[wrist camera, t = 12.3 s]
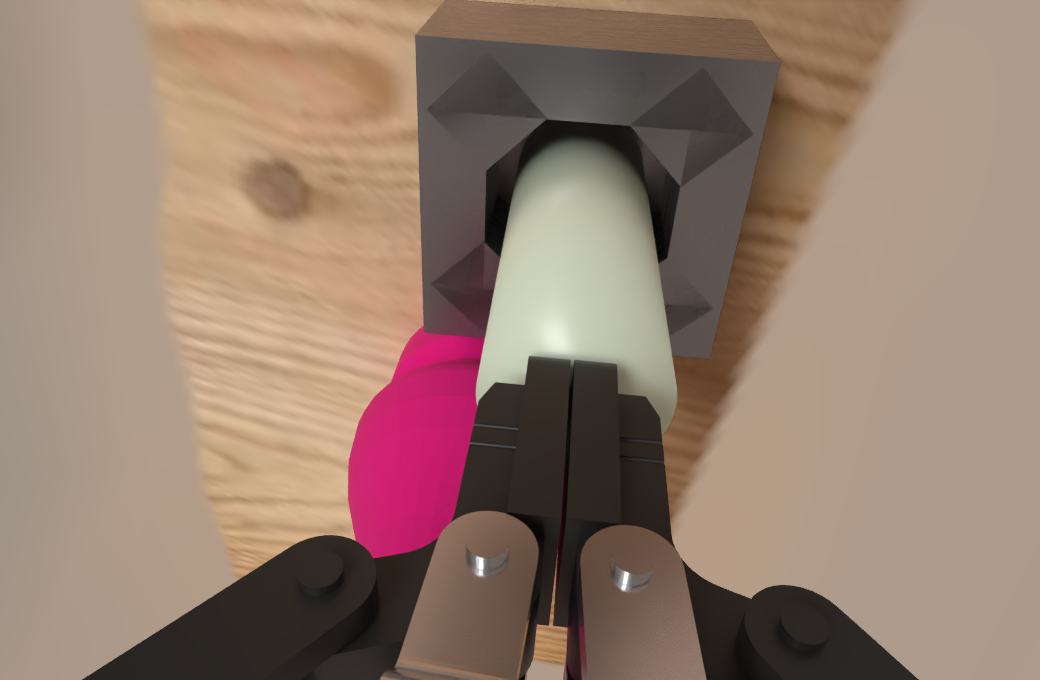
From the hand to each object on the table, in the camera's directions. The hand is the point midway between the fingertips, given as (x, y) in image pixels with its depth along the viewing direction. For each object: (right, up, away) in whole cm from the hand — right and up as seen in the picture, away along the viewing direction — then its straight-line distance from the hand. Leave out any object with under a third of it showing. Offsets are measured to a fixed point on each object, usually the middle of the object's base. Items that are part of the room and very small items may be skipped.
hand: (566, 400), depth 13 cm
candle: (+1, +6, +8) cm, 10 cm away
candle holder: (+1, +6, +9) cm, 11 cm away
